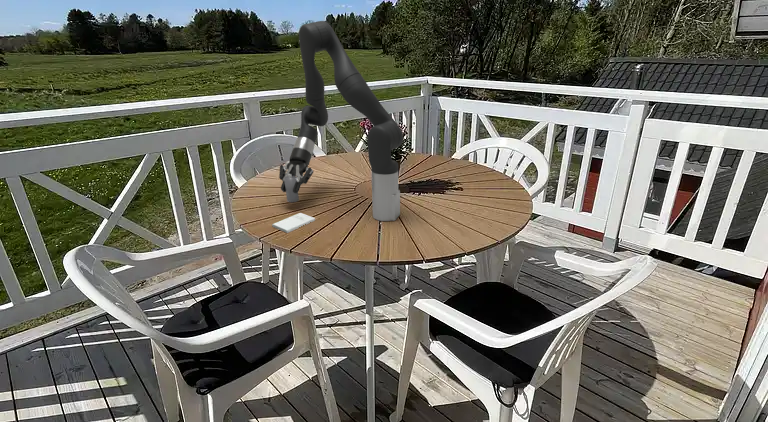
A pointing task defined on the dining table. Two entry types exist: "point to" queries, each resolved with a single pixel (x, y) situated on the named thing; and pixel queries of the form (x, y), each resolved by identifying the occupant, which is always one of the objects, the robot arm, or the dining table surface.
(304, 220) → the external hard drive
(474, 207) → the dining table surface
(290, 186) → the grey upright cylinder
